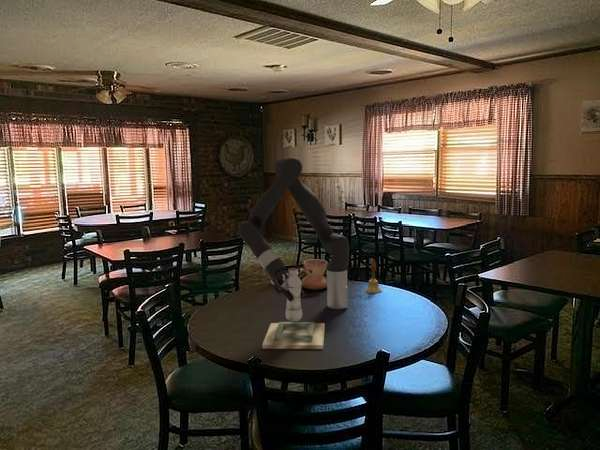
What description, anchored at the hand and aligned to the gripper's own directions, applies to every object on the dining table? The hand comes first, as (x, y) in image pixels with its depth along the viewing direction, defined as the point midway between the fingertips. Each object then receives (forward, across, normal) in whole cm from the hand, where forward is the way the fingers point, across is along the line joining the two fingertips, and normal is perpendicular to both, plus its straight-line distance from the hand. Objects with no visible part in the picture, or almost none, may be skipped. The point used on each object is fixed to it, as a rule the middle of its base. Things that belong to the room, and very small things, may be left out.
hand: (297, 297), depth 179 cm
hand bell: (+10, +70, +13) cm, 72 cm away
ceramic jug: (-10, +61, +33) cm, 70 cm away
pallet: (+10, 0, +12) cm, 16 cm away
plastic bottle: (+5, 0, +8) cm, 10 cm away
